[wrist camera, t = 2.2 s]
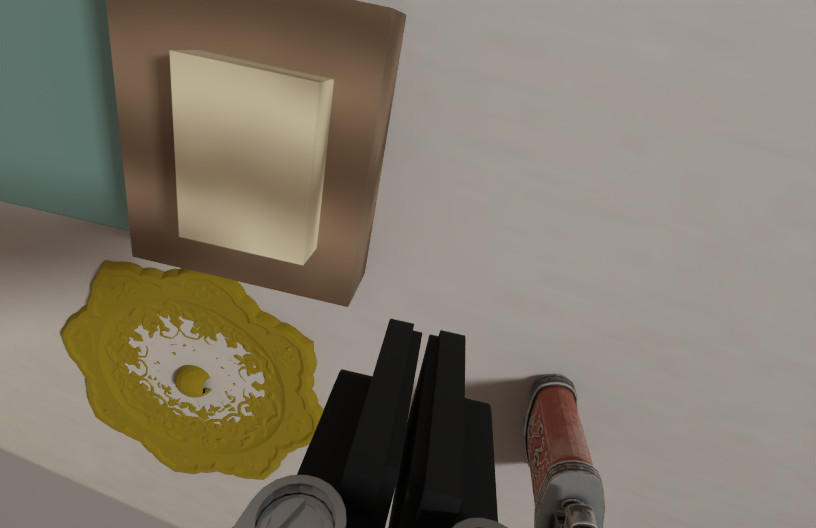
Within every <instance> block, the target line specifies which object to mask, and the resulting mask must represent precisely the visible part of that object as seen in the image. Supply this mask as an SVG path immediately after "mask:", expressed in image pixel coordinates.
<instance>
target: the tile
mask: <svg viewBox="0 0 816 528" xmlns="http://www.w3.org/2000/svg"><path fill="white" fill-rule="evenodd" d="M169 51H170V71H171V90H172V109H173V129H174V148H175V168H176V187H177V207H178V226H179V237H182V238H187V239H191V240H195V241H200V242H204V243H208V244H213V245H217V246H221V247H226V248H230V249H234V250H239V251H243V252H247V253H251V254H256V255H260V256H264V257H269V258H273V259H277V260H282V261H286V262H290V263H295V264H299V265H304V264H305V262H306V261H307V260H308V259H309V257H310V256H311V255H312V254H313V252H314V251H315V250H316V248H317V241H318V231H319V221H320V212H321V202H322V192H323V182H324V173H325V163H326V153H327V144H328V134H329V124H330V114H331V105H332V95H333V85H334V79H331V78H327V77H322V76H317V75H313V74H308V73H303V72H299V71H294V70H289V69H285V68H280V67H275V66H271V65H266V64H261V63H257V62H252V61H247V60H243V59H238V58H233V57H229V56H224V55H219V54H215V53H210V52H205V51H201V50H169Z"/></svg>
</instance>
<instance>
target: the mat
mask: <svg viewBox="0 0 816 528" xmlns="http://www.w3.org/2000/svg"><path fill="white" fill-rule="evenodd" d="M0 201H3V202H7V203H12V204H16V205H20V206H25V207H29V208H33V209H37V210H42V211H46V212H50V213H55V214H59V215H63V216H68V217H72V218H76V219H81V220H85V221H89V222H93V223H98V224H102V225H106V226H111V227H115V228H119V229H124V230H128V231H130V226H129V216H128V207H127V197H126V188H125V178H124V169H123V159H122V150H121V140H120V131H119V121H118V112H117V102H116V93H115V83H114V74H113V64H112V55H111V45H110V36H109V26H108V17H107V7H106V0H0Z"/></svg>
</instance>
